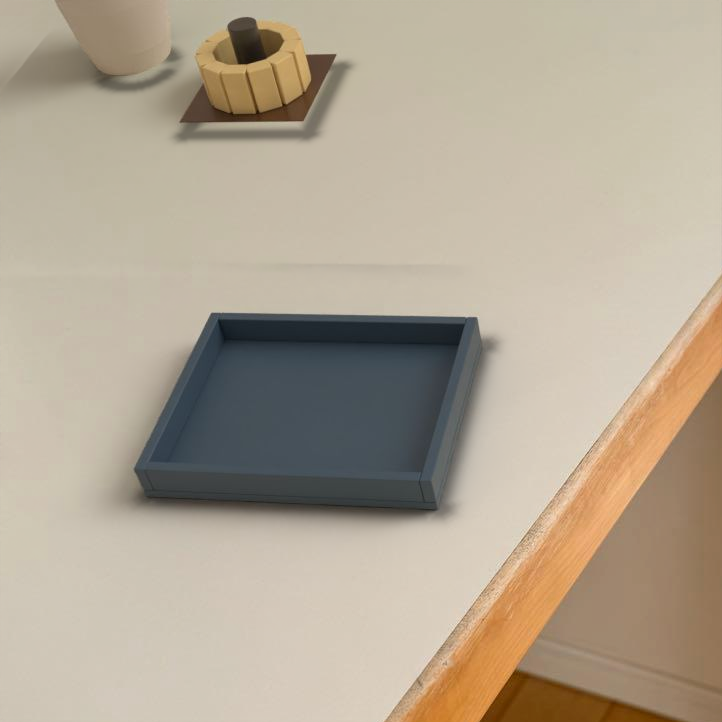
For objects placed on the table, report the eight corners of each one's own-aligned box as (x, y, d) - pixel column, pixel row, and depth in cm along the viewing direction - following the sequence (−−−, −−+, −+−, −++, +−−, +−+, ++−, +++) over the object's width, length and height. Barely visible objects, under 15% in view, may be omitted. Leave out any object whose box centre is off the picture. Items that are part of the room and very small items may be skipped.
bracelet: (195, 114, 86) (181, 74, 84) (227, 61, 91) (215, 21, 88) (294, 113, 85) (283, 72, 83) (322, 60, 89) (312, 19, 87)
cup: (201, 36, 96) (158, -99, 88) (178, 91, 91) (131, -48, 83) (99, 45, 97) (48, -88, 89) (71, 100, 91) (14, -37, 84)
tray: (146, 496, 63) (132, 469, 62) (221, 339, 71) (210, 311, 70) (438, 510, 61) (431, 481, 59) (482, 345, 68) (477, 316, 67)
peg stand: (183, 135, 86) (156, 58, 82) (223, 68, 92) (200, -7, 88) (306, 134, 85) (286, 56, 81) (340, 66, 91) (322, -10, 86)
